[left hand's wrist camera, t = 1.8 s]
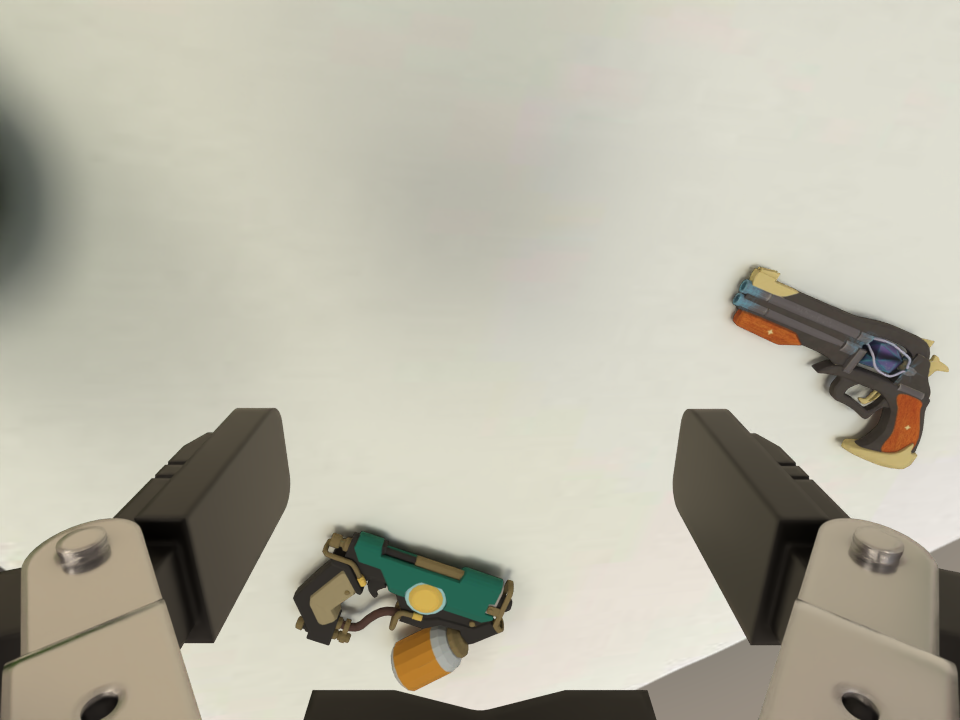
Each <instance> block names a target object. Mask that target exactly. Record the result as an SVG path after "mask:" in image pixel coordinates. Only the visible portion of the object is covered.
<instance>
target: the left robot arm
mask: <svg viewBox="0 0 960 720" xmlns="http://www.w3.org/2000/svg"><path fill="white" fill-rule="evenodd" d="M289 493H290V474H289V467H288V460H287V453H286V446H285V439H284V432H283V425H282V419H281V415H280V413H279V411H278V410H277V409H276V408H237V409H235V410H234V411H233V412H232V413H231V414H230V415H229V416H228V417H227V418H226V419H225V420H224V421H223V422H222V424H221V425H220V426H219V427H218V428H217V429H216V430H215V431H214V432H213V433H206V434H204V435H202V436H201V437H199V438H197V439H195V440H193V441H192V442H190V443H188V444H186V445H185V446H183V447H182V448H181V449H180V450H179V451H178V452H177V453H176V454H175V455H174V456H173V457H172V458H171V459H170V460H169V461H168V465H165V466H164V467H163V468H162V469H161V470H160V471H159V472H158V473H157V474H156V475H155V478H152V479H151V480H150V481H149V482H148V483H147V484H146V485H145V486H144V487H143V488H142V489H141V490H140V491H139V492H138V493H137V494H136V495H135V496H134V497H133V498H132V499H131V500H130V501H129V502H128V503H127V504H126V505H125V506H124V507H123V508H122V509H121V510H120V511H119V512H118V513H117V514H116V515H115V516H114V517H113V518H108V519H100V520H95V521H90V522H86V523H83V524H80V525H77V526H74V527H71V528H69V529H67V530H64V531H62V532H60V533H58V534H56V535H54V536H52V537H51V538H49V539H47V540H46V541H44V542H43V543H42V544H40V545H39V546H38V547H36V548H35V549H34V550H33V551H32V552H31V553H30V554H29V555H28V557H27V558H26V559H25V561H24V563H23V565H22V568H17V569H12V570H7V571H2V572H0V720H202V719H201V715H200V712H199V709H198V706H197V702H196V699H195V696H194V693H193V690H192V686H191V683H190V680H189V677H188V673H187V670H186V667H185V664H184V661H183V657H182V654H181V651H180V649H181V647H182V646H183V644H184V643H214V642H215V640H216V638H217V636H218V634H219V632H220V630H221V628H222V627H223V625H224V623H225V621H226V619H227V617H228V615H229V613H230V612H231V610H232V608H233V606H234V604H235V602H236V600H237V598H238V597H239V595H240V593H241V591H242V589H243V587H244V585H245V583H246V582H247V580H248V578H249V576H250V574H251V572H252V570H253V568H254V567H255V565H256V563H257V561H258V559H259V557H260V555H261V553H262V552H263V550H264V548H265V546H266V544H267V542H268V540H269V539H270V537H271V535H272V533H273V531H274V529H275V527H276V525H277V524H278V522H279V520H280V518H281V516H282V514H283V512H284V510H285V508H286V506H287V503H288V499H289ZM673 494H674V500H675V504H676V507H677V509H678V512H679V513H680V515H681V517H682V519H683V521H684V523H685V524H686V526H687V528H688V530H689V532H690V534H691V536H692V537H693V539H694V541H695V543H696V545H697V547H698V549H699V550H700V552H701V554H702V556H703V558H704V560H705V561H706V563H707V565H708V567H709V569H710V571H711V573H712V574H713V576H714V578H715V580H716V582H717V584H718V586H719V587H720V589H721V591H722V593H723V595H724V597H725V598H726V600H727V602H728V604H729V606H730V608H731V610H732V611H733V613H734V615H735V617H736V619H737V621H738V623H739V624H740V626H741V628H742V630H743V632H744V634H745V636H746V637H747V639H748V641H749V643H750V645H781V648H780V651H779V654H778V657H777V661H776V664H775V667H774V670H773V673H772V677H771V680H770V683H769V686H768V690H767V693H766V696H765V699H764V703H763V706H762V709H761V712H760V715H759V719H758V720H960V573H958V572H953V571H948V570H943V569H939V568H938V565H937V563H936V561H935V559H934V558H933V557H932V555H931V554H930V553H929V552H928V551H927V550H926V549H925V548H924V547H922V546H921V545H920V544H918V543H917V542H916V541H914V540H913V539H911V538H909V537H908V536H906V535H904V534H902V533H900V532H898V531H896V530H893V529H891V528H889V527H886V526H883V525H880V524H877V523H874V522H870V521H865V520H860V519H852V518H850V517H849V516H848V515H847V514H846V513H845V512H844V511H843V510H842V509H841V508H840V507H839V506H838V505H837V504H836V503H835V502H834V501H833V500H832V499H831V498H830V497H829V496H828V495H827V494H826V493H825V492H824V491H823V490H822V489H821V488H820V487H819V486H818V485H817V484H816V483H815V482H814V481H813V480H809V476H808V475H807V474H806V473H805V472H804V471H803V470H802V469H801V468H800V467H799V466H796V463H795V462H794V461H793V460H792V459H791V458H790V457H789V456H788V455H787V454H786V453H785V452H784V451H783V450H782V448H781V447H779V446H777V445H776V444H774V443H772V442H770V441H768V440H767V439H765V438H763V437H761V436H760V435H758V434H756V433H750V432H749V431H748V430H747V429H746V428H745V427H744V426H743V425H742V424H741V423H740V422H739V421H738V420H737V418H736V417H735V416H734V415H733V414H732V413H731V412H730V411H729V410H727V409H687V410H686V411H685V412H684V414H683V416H682V420H681V426H680V433H679V440H678V447H677V454H676V461H675V468H674V474H673ZM304 720H656V717H655V714H654V710H653V707H652V704H651V700H650V697H649V694H648V691H647V690H564V691H560V692H556V693H552V694H548V695H544V696H540V697H536V698H532V699H528V700H524V701H521V702H517V703H513V704H509V705H505V706H501V707H497V708H493V709H489V710H471V709H467V708H463V707H459V706H455V705H451V704H447V703H443V702H439V701H436V700H432V699H428V698H424V697H420V696H416V695H412V694H408V693H404V692H400V691H396V690H313V691H312V694H311V697H310V700H309V704H308V707H307V710H306V714H305V717H304Z"/></svg>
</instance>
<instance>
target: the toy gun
mask: <svg viewBox="0 0 960 720" xmlns="http://www.w3.org/2000/svg"><path fill="white" fill-rule="evenodd" d="M779 275H780V273H777V271H775V270H771V269H767V268H762V267H758V269H756V268H755V269H754V271H753V272H752V274H751V276H750V280H748V279H746V280H744V281H743V282H742V283H741V285H740V288H739V291H740V292H741V293H737V294H736V295H735V297H734V299H733V304H734V305H735V306H736V307H737V308H738V311H737V312H736V314H735V315H734V318H733V321H734V323H735V324H736V325H737V326H739V327H741V328H743V329H745V330H748V331H750V332H752V333H754V334H756V335H758V336H760V337H762V338H765V339H767V340H769V341H771V342H773V343H775V344H778V345H804V346H806V347H808V348H811V349H813V350H815V351H818V352H819V353H821V354H823V355H825V356H826V357H828V358H829V359H828V360H824V361H821V362H819V363H816V364H814V365H812V367H813V368H814V369H815V370H816V371H817V372H818V373H825V374H832V375H837V377H836V378H835V379H834V381H833V382H832V383H831V385H830V389H829V392H830V395H831V396H832V397H833V398H834V399H835V400H837V401H839V402H842V403H844V404H846V405H847V406H849V407H851V408H852V409H853V410H854V411H856V412H857V413H858V414H859V415H860V416H861V417H862V418H864V419H866V418H868V417H869V416H871V415H872V414H873V413H874V412H876V411H877V410H879V409H881V408H883V411H882V414H881V417H880V420H879V423H878V424H877V426H876V427H875V428H874V429H873V430H871V431H870V432H869V433H868V434H867V435H865V436H864V437H862V438H860V439H844V440H843V442H842V444H841V446H842V447H843V448H844V449H846V450H847V451H848V452H850V453H852V454H854V455H856V456H858V457H861V458H863V459H865V460H867V461H870V462H872V463H875V464H877V465H880V466H884V467H889V468H895V469H904V468H906V467H908V466H910V465H911V464H912V462H913V461H914V460H915V458H916V457H917V454H916V453H915V451H916V449H917V446H918V444H919V441H920V438H921V436H922V431H923V424H924V415H925V410H926V407H927V405H928V404H929V402H930V399H929V396H930V387H929V383H928V377H929V376H930V375H932V374H933V373H934V372H935V371H944V372H949V369H948V367H947V366H946V365H944V364H943V363H942V362H940V360H939V358H938V357H937V356H936V355H933V356H932V358H931V359H930V360H929V357H930V347H931V345H932V344H933V343H934V341H931V340H927V339H922V338H920V337H918V336H916V335H914V334H912V333H909V332H907V331H905V330H902V329H900V328H898V327H895V326H893V325H890V324H888V323H885V322H881V321H877V320H873V319H868V318H863V317H858V316H855V315H852V314H850V313H848V312H845V311H843V310H841V309H838V308H836V307H834V306H831V305H829V304H827V303H824V302H822V301H820V300H817V299H815V298H813V297H810V296H808V295H806V294H804V293H801V292H799V291H797V290H796V289H793V288H791V287H789V286H787V285H785V284H782V283H780V282H778V281H776V280H777V278H778V277H779ZM880 337H881V338H880ZM883 338H885V339H883ZM886 339H888V340H890V341H893V342H895V343H897V344H899V345H901V346H903V347H904V348H905V349H906V350H907V353H905V352H904V351H902V350H901V349H900V348H899V347H897V344H894V343H892V342H889V341H887V340H886ZM899 351H900V352H901V353H902V354H903V355H904V356H903V358H902V357H901V354H900V352H899ZM858 363H861V364H864V365H867V366H870V367H872V368H875V369H876V370H877V371H878V372H879V373H880V374H882V375H884V376H886V377H884V376H882V375H879V374H877V373H874V372H872V371H869V370H867V369H864V368H861V367H858V366H856V365H857V364H858ZM880 370H881V371H883V372H886V373H889V374H888V375H887V374H885V373H883V372H881V371H880ZM857 384H861V385H863V386H866V387H868V388H871V389H873V391H872V392H871V393H870V394H869V395H868V396H867V397H866V398H860V397H858V400H859V401H860V402H861V403H862V404H866V403H869V402H871V401H873V400H875V399H876V398H877V399H876V400H875V401H874V402H872V403H871V404H869V405H867V406H864V407H863V406H861V405H860V404H859V403H857V402H856V401H855V400H854V399H853V398H852V397H850V396H849V395H847V394H845V391H846V390H847V389H848V388H850V387H852V386H854V385H857ZM877 392H878V393H877ZM876 393H877V394H876ZM875 394H876V395H875ZM874 395H875V396H874ZM873 396H874V397H873Z"/></svg>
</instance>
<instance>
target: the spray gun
mask: <svg viewBox="0 0 960 720" xmlns="http://www.w3.org/2000/svg"><path fill="white" fill-rule="evenodd" d="M388 543H389V541H387V540H385V539H384V538H381V537H378V536H376V535H373V534H370V533H367V532H364V531H361V533H357V532H355V533H354V535H353V538H350V537H347V538H346V539H344V538H343V535H340V534H337V533H333V535H332V538H331V539H328V540H327V542H326V544H325V545H324V548H323V551H322V552H323V553H324V555H325V556H326V557H329V558H331V559H330V560H329V561H328V562H327V563H325V564H324V565H323V566H322V567H321V568H320V569H319V570H317V571H316V572H315V573H314V574H313V575H312V576H311V577H310V578H309V579H307V580H306V581H305V582H304V583H303V584H302V585H301V586H300V587H299V588H298V589H297V591H296V592H295V595H294V597H293V599H294V601H295V603H296V605H297V607H298V609H299V612H300V614H301V616H300V617H299V618H298V620H297V623H296V628H297V629H299V630H302V628H303V629H305V631H306V632H308V635H307V639H310V640H313V641H316V642H319V643H322V644H325V645H329V644H330V642H331V639H336V638H337V640H339V642H341V643H344V642H346V643H348V642H349V640H350V637H351V634H350V633H347V632H348V631H360V630H362V629H364V628H365V627H366V626H367V625H368V624H369V623H371V622H372V621H374V620H375V619H377V618H379V617H382V616H387V615H389V616H392V617H391V621H390V626H389V629H390V630H394V629H395V627H396V624H397V621H398V619H400V620H399V621H401V622H404V623H407V624H410V625H413V626H416V627H420V628H423V630H421V631H418V632H416V633H414V634H412V635H410V636H408V637H406V638H404V639H402V640H400V641H398V642H396V643H395V645H394V647H393V650H392V653H391V664H392V670H393V673H394V675H395V678H396V679H397V681H398V682H399V683H400V684H401V685H402V686H403V687H404V688H406V689H407V690H410V691H415V690H417V689H419V688H421V687H423V686H425V685H427V684H429V683H431V682H433V681H435V680H437V679H439V678H441V677H443V676H445V675H447V674H449V673H451V672H452V671H454V670H455V669H456V668H457V667H458V666H459V665H460V662H461V658H463V657H465V656H466V655H467V653H468V644H473V643H476V642H478V641H481V640H483V639H486V638H488V637H490V636H493V635H495V634H498V633H501V632H503V630H504V622H503V619H502V616H503V614H504V612H507V611H509V610H510V609H511V606H512V599H511V597H512V595H513V589H514V584H513V581H511V580H507V582H506V584H505V586H504V582H503V580H502V579H500V578H498V577H495V576H492V575H489V574H486V573H483V572H480V571H477V570H474V569H471V568H468V567H463V568H462V569H458V568H455V567H452V566H449V565H446V564H443V563H440V562H437V561H434V560H431V559H428V558H425V557H422V556H419V555H416V554H413V553H410V552H407V551H404V550H401V549H398V548H395V547H392V546H389V545H388ZM329 546H331V547H334V548H335V550H334V552H333V553H330V552H328V548H329ZM366 581H368V583H367V582H366ZM366 584H367V585H368V589H369V592H370V593H371V595H372V596H373V597H374V598H375V597H377V595H378V593H377V591H378V590H380V589H382V588H386V586H387V587H388V590H389V591H390V592H391V593H394V594H396V596H397V599H398V601H397V603H396V605H395V607H383V608H379V609H377V610H374V611H372V612H371V613H369V614H368V615H366V616H365V617H364V618H363V619H362V620H361V621H359V622H357V623H351V621H352V620H351V619H348V618H347V620H346V621H344V620H343V618H342V617H340V614H341V612H342V610H341V604H340V603H342V602H343V601H345V600H346V599H348V598H349V597H351V596H352V595H354V594H355V593H357V594H359V595H361V593H362V592H363V589H364V586H365V585H366ZM507 592H508V593H507ZM506 594H507V595H506ZM493 616H495V617H496V619H494V618H493ZM340 628H341V629H343V631H339V630H338V629H340Z"/></svg>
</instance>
